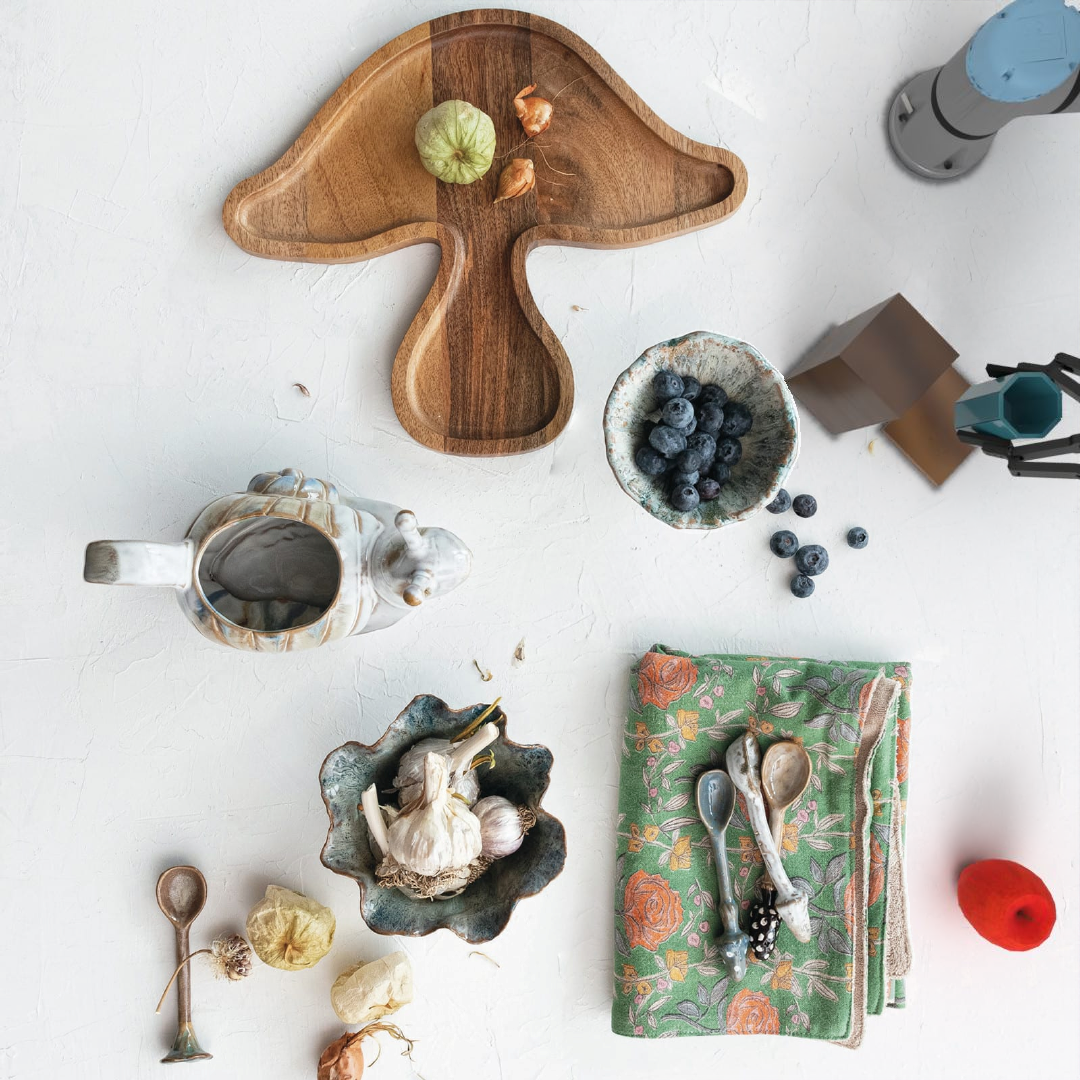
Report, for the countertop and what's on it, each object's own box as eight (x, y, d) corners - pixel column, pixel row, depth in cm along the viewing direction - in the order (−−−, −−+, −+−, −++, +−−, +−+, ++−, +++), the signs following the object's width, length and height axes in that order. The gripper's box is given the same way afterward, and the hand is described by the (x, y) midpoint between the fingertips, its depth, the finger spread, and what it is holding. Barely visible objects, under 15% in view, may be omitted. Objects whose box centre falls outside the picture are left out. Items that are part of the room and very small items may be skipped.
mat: (943, 362, 126) (947, 361, 125) (999, 419, 127) (1003, 418, 126) (879, 430, 125) (883, 429, 124) (935, 487, 126) (939, 486, 125)
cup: (982, 373, 115) (1030, 358, 105) (1024, 415, 116) (1075, 405, 106) (942, 416, 115) (985, 405, 105) (983, 458, 115) (1031, 452, 105)
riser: (832, 329, 125) (899, 291, 105) (884, 382, 125) (960, 355, 105) (781, 382, 124) (838, 355, 104) (833, 435, 125) (900, 418, 105)
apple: (1019, 910, 128) (1081, 955, 115) (945, 929, 127) (1000, 976, 114) (1004, 834, 128) (1065, 870, 114) (930, 853, 127) (983, 891, 114)
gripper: (1141, 535, 100) (948, 486, 115) (1213, 369, 100) (1011, 341, 115) (1137, 516, 94) (934, 467, 109) (1213, 340, 95) (1001, 315, 110)
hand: (974, 403), depth 112 cm, fingers closed on cup, 9 cm apart
